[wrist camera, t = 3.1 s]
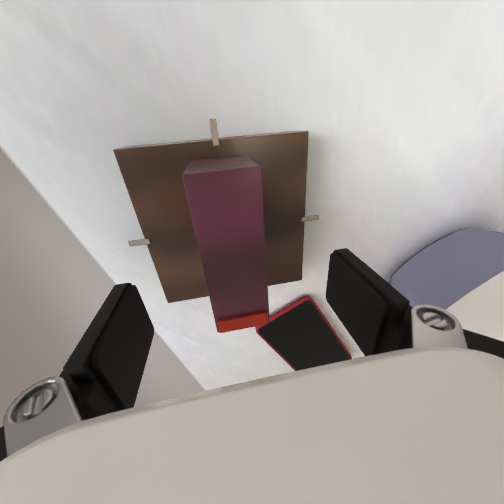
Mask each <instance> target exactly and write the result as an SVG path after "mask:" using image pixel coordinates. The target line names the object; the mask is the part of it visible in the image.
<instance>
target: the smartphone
mask: <svg viewBox="0 0 504 504" xmlns="http://www.w3.org/2000/svg"><path fill="white" fill-rule="evenodd" d="M256 332H257V334H258V335H259V336H260V337H261V338H262V339H264V340H265V341H266V342H267V343H268V344H269V345H270V346H271V347H272V348H273V349H274V350H275V351H276V352H277V353H278V354H279V355H280V356H281V357H282V358H283V359H284V360H285V361H286V362H287V363H288V364H289V365H290V366H291V367H292V368H293V369H294V370H295V371H299V370H303V369H308V368H313V367H317V366H322V365H327V364H332V363H336V362H341V361H346V360H350V359H352V356H351V355H350V353H349V352H348V350H347V349H346V347H345V346H344V345H343V343H342V342H341V340H340V339H339V337H338V336H337V334H336V333H335V331H334V330H333V328H332V327H331V325H330V324H329V322H328V321H327V319H326V318H325V316H324V315H323V313H322V312H321V311H320V309H319V308H318V306H317V305H316V303H315V302H314V300H313V299H312V298H311V297H307V296H306V297H303V298H301V299H299V300H297V301H296V302H294V303H292V304H291V305H289V306H287V307H286V308H284V309H282V310H281V311H279V312H277V313H276V314H274V315H272V316H271V317H269V323H268V324H264V325H259V326H257V327H256Z"/></svg>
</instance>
